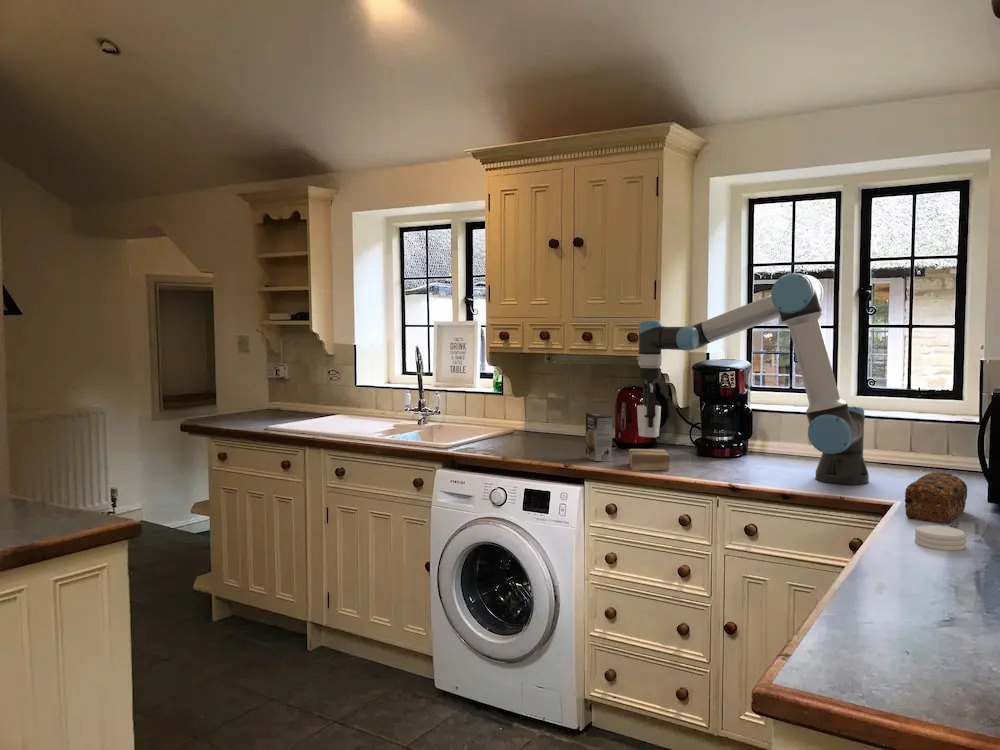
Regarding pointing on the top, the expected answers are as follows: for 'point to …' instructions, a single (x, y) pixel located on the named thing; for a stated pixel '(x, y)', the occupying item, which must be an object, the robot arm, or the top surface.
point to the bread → (936, 498)
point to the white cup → (642, 420)
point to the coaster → (940, 538)
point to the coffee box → (598, 436)
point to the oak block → (648, 459)
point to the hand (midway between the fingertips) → (648, 435)
